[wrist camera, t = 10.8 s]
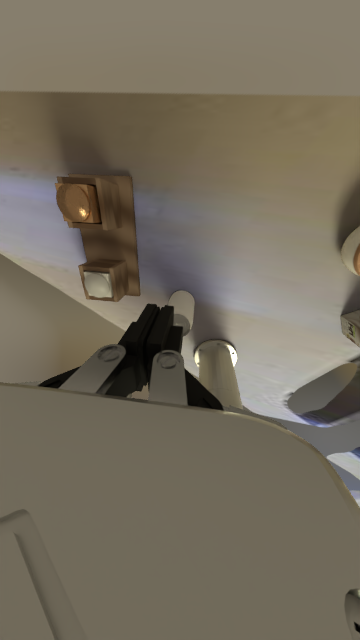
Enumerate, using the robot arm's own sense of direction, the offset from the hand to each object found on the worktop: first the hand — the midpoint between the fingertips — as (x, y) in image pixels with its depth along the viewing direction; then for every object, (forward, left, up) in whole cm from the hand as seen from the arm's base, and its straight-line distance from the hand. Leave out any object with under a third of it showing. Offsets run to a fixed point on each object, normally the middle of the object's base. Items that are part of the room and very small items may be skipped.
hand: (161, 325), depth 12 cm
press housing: (0, +18, -32) cm, 37 cm away
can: (-13, +1, -32) cm, 35 cm away
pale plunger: (-7, +18, -30) cm, 36 cm away
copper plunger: (+7, +18, -29) cm, 35 cm away
